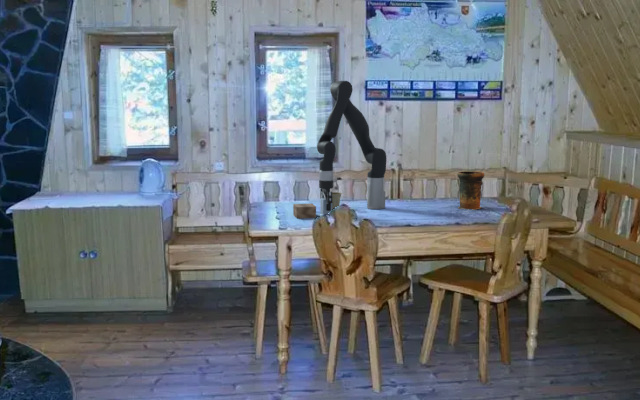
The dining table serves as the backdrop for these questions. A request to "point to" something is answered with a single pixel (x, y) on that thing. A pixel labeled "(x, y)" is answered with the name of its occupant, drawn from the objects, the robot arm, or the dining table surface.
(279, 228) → the dining table surface
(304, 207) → the walnut box
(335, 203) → the flower pot
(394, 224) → the dining table surface
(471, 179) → the vessel
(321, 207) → the light grey block
